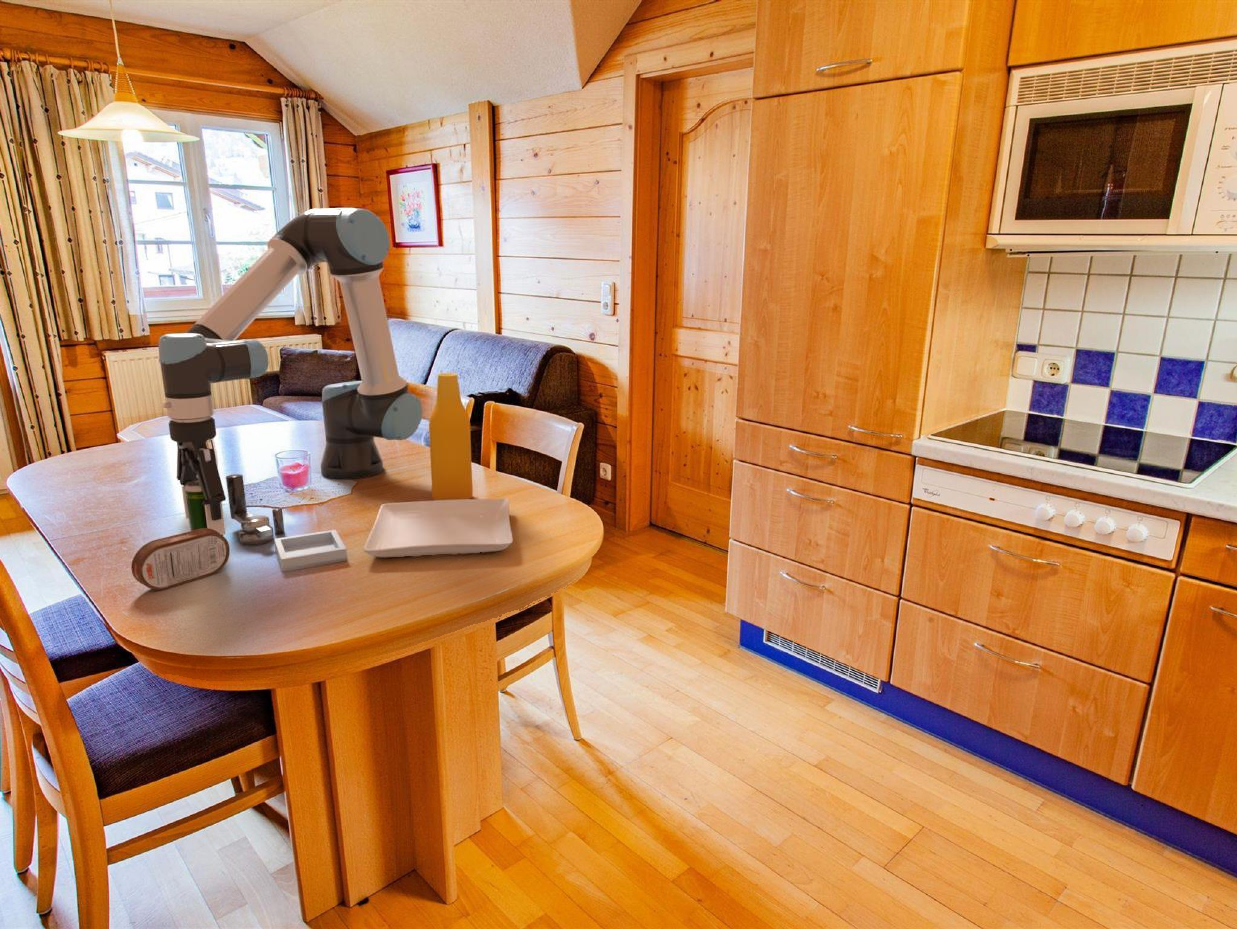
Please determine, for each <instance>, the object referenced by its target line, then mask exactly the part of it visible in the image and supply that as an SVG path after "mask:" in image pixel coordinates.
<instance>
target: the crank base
mask: <svg viewBox="0 0 1237 929" xmlns="http://www.w3.org/2000/svg"><path fill="white" fill-rule="evenodd" d="M271 511H272V520H273V526H271V525H270V528H271V529H272V535H270V536H266V537H260V536H259V535H257V534H256V533H245V532H242V529H240V530H239V531H238V534H239V535H238V536H239V543H240V544H241V545H243V546H248V547H250V546H252V547H253V546H262V545H266V544H268V543H271V542H272V541H273V540H274V539H275V538H274V537H275V536H276V535H278V536H282V535H283V534H284V535H285V524H284V515H283V514H284V512H283V508H282V507H278V508H277V507H276V508H273V509H272V510H271ZM274 534H275V536H274Z"/></svg>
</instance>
